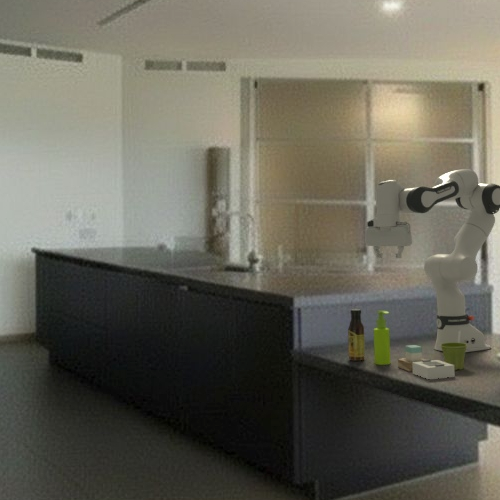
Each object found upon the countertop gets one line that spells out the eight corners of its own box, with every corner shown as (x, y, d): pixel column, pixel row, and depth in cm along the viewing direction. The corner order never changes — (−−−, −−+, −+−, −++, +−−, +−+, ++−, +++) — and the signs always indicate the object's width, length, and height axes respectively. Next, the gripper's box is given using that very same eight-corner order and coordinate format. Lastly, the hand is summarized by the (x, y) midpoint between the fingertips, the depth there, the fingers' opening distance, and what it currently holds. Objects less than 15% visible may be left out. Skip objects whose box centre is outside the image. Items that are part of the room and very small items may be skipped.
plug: (415, 366, 277) (415, 344, 277) (422, 369, 273) (421, 346, 272) (405, 367, 276) (405, 345, 276) (412, 370, 272) (411, 347, 271)
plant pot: (463, 372, 265) (463, 347, 264) (437, 370, 270) (436, 345, 269) (471, 367, 273) (470, 343, 272) (445, 365, 278) (444, 341, 277)
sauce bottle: (347, 359, 297) (345, 308, 297) (362, 358, 298) (361, 307, 297) (350, 362, 291) (349, 310, 290) (366, 361, 291) (365, 309, 291)
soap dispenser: (382, 365, 281) (381, 312, 280) (371, 363, 287) (369, 310, 286) (395, 363, 284) (393, 310, 283) (384, 361, 290) (382, 309, 289)
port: (438, 371, 268) (437, 358, 267) (454, 376, 257) (454, 363, 257) (412, 373, 265) (412, 360, 265) (428, 379, 254) (427, 366, 254)
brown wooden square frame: (418, 364, 280) (418, 356, 280) (431, 369, 271) (431, 361, 271) (397, 366, 278) (397, 358, 278) (409, 371, 269) (409, 363, 269)
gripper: (415, 221, 286) (415, 257, 286) (372, 222, 301) (373, 257, 302) (404, 221, 282) (405, 258, 282) (362, 222, 297) (363, 258, 297)
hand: (388, 257), depth 292 cm, fingers open, 8 cm apart
